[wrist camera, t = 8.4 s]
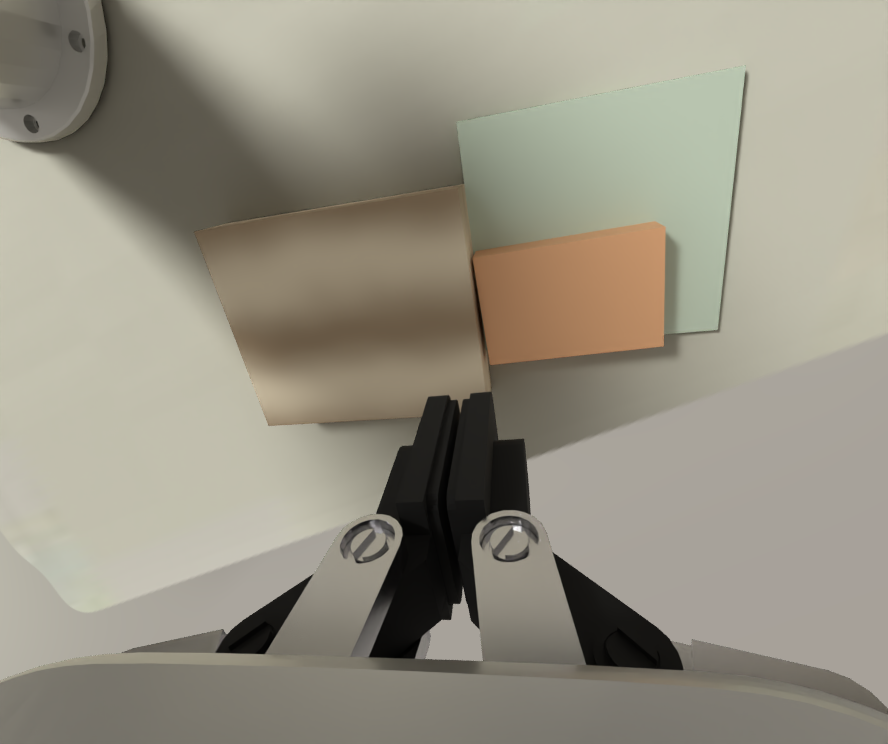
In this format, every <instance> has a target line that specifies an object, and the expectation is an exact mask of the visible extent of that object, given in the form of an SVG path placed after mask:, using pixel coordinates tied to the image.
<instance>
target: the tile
mask: <svg viewBox="0 0 888 744" xmlns="http://www.w3.org/2000/svg"><path fill="white" fill-rule="evenodd" d="M665 237H666V227H665V226H663V225H661V224H660V223H658V222H656V221H653V222H647V223H641V224H635V225H629V226H623V227H617V228H611V229H605V230H599V231H593V232H587V233H581V234H575V235H569V236H563V237H557V238H551V239H545V240H539V241H533V242H527V243H521V244H515V245H509V246H503V247H497V248H491V249H485V250H479V251H476V252H475V254H474V256H473V264H474V270H475V276H476V282H477V288H478V294H479V301H480V307H481V313H482V319H483V325H484V331H485V337H486V343H487V349H488V356H489V362H490V365H497V364H506V363H515V362H524V361H534V360H543V359H552V358H561V357H570V356H580V355H589V354H598V353H607V352H617V351H626V350H635V349H644V348H653V347H663V346H664V300H665Z"/></svg>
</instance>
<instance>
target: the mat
mask: <svg viewBox="0 0 888 744" xmlns="http://www.w3.org/2000/svg"><path fill="white" fill-rule="evenodd" d="M745 68H746V65H744V66H739V67H734V68H729V69H724V70H719V71H714V72H709V73H703V74H698V75H693V76H688V77H683V78H678V79H673V80H668V81H663V82H658V83H652V84H647V85H642V86H637V87H632V88H627V89H622V90H617V91H612V92H607V93H601V94H596V95H591V96H586V97H581V98H576V99H571V100H566V101H561V102H556V103H550V104H545V105H540V106H535V107H530V108H525V109H520V110H515V111H510V112H505V113H499V114H494V115H489V116H484V117H479V118H474V119H469V120H464V121H459V122H456V125H457V133H458V140H459V148H460V156H461V163H462V171H463V179H464V186H465V194H466V202H467V209H468V217H469V225H470V232H471V240H472V248H473V255H474V254H475V252H476V251H479V250H485V249H491V248H497V247H503V246H509V245H515V244H521V243H527V242H533V241H539V240H545V239H551V238H557V237H563V236H569V235H575V234H581V233H587V232H593V231H599V230H605V229H611V228H617V227H623V226H629V225H635V224H641V223H647V222H653V221H656V222H658V223H660V224H661V225H663V226H665V227H666V237H665V300H664V334H675V333H687V332H698V331H710V330H718V322H719V313H720V303H721V294H722V285H723V275H724V266H725V256H726V247H727V238H728V228H729V219H730V209H731V200H732V191H733V181H734V172H735V162H736V153H737V144H738V134H739V125H740V115H741V106H742V97H743V87H744V78H745ZM480 309H481V307H480ZM481 317H482V313H481ZM482 324H483V319H482ZM483 332H484V340H485V347H486V350H488V349H487V343H486V337H485V331H484V325H483Z"/></svg>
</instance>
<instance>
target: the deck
mask: <svg viewBox="0 0 888 744" xmlns="http://www.w3.org/2000/svg"><path fill="white" fill-rule="evenodd" d="M194 233H195V236H196V238H197V241H198V243H199V246H200V249H201V251H202V254H203V256H204V259H205V262H206V264H207V267H208V269H209V272H210V275H211V277H212V280H213V282H214V285H215V288H216V290H217V293H218V295H219V298H220V301H221V303H222V306H223V308H224V311H225V314H226V316H227V319H228V321H229V324H230V327H231V329H232V332H233V334H234V337H235V340H236V342H237V345H238V347H239V350H240V353H241V355H242V358H243V360H244V363H245V366H246V368H247V371H248V373H249V376H250V379H251V381H252V384H253V386H254V389H255V392H256V394H257V397H258V399H259V402H260V405H261V407H262V410H263V412H264V415H265V418H266V420H267V423H268V425H269V426H275V425H292V424H309V423H327V422H344V421H361V420H379V419H396V418H414V417H422V415H423V411H424V408H425V405H426V402H427V399H428V397H430V396H442V395H449V396H450V398H451V400H458V404H459V409H460V413H461V407H462V401H463V399H470V393H480V392H491V389H492V387H491V380H490V372H489V364H488V356H487V350H486V347H485V340H484V332H483V324H482V317H481V309H480V301H479V294H478V288H477V282H476V276H475V270H474V264H473V256H474V255H473V248H472V240H471V232H470V225H469V217H468V209H467V202H466V194H465V186H464V184H461V185H455V186H449V187H443V188H436V189H430V190H424V191H418V192H412V193H406V194H400V195H394V196H388V197H382V198H376V199H370V200H364V201H358V202H352V203H346V204H340V205H334V206H328V207H322V208H316V209H310V210H304V211H298V212H292V213H286V214H280V215H274V216H268V217H262V218H256V219H250V220H244V221H238V222H232V223H226V224H222V225H218V226H214V227H211V228H207V229H203V230H199V231H195V232H194Z"/></svg>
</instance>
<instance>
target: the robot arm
mask: <svg viewBox="0 0 888 744" xmlns="http://www.w3.org/2000/svg"><path fill="white" fill-rule="evenodd" d="M107 59H108V56H107V32H106V25H105V20H104V14H103V9H102V4H101V0H0V138H1V139H6V140H11V141H16V142H41V143H42V142H48V141H54V140H59V139H61V138H64V137H66V136H68V135H70V134H72V133H74V132H75V131H76V130H77V129H79V128H80V127H81V126H82V125H83V124H84V123H85V122H86V121H87V120H88V119H89V117H90V115H91V114H92V112H93V111H94V109H95V107H96V106H97V104H98V101H99V98H100V95H101V92H102V89H103V86H104V83H105V75H106V67H107ZM463 588H464V592H465V598H466V602H467V604H468V608H469V613H470V618H471V621H472V622H473V623H474V624H475V625H476V626H477V627H478V628H479V629H480V636H481V646H482V656H483V661H461V660H460V661H459V660H432V659H425V658H426V654H427V651H428V648H429V643H430V637H431V636H430V629H431V628H432V627H434V626H435V625H436V624H437V623H438V622H439V621H441V620H451V616H452V608H453V604H460V602H461V598H462V589H463ZM691 643H692V644H691V645H686V644H682V643H678V642H674V641H670V639H669V638H668V637H667V636H666V635H665V634H663V632H662V631H660V630H659V629H658V628H657V627H656V626H654V625H653V624H651V623H650V622H649V621H648V620H646V619H645V618H643V617H642V616H641V615H639V614H638V613H636V612H635V611H633V610H632V609H631V608H629V607H628V606H627V605H625V604H624V603H622V602H621V601H620V600H618V599H617V598H615V597H614V596H613V595H611V594H610V593H609V592H607V591H606V590H604V589H603V588H602V587H600V586H599V585H597V584H596V583H595V582H593V581H592V580H590V579H589V578H588V577H586V576H585V575H583V574H582V573H581V572H579V571H578V570H577V569H575V568H574V567H572V566H571V565H569V564H568V563H567V562H565V561H564V560H563V559H561V558H560V557H558V556H557V555H556V554H554V553H553V552H552V549H551V546H550V542H549V539H548V536H547V533H546V530H545V529H544V527H543V525H542V523H540V522H539V521H538V520H537V519H536V518H535V517H533V516H531V513H530V498H529V484H528V473H527V461H526V451H525V442H524V439H514V440H498V434H497V427H496V419H495V412H494V404H493V397H492V392H480V393H470V399H463V401H462V407H461V413H460V409H459V404H458V400H451V398H450V396H449V395H442V396H430V397H428V399H427V402H426V405H425V408H424V411H423V415H422V418H421V421H420V424H419V427H418V431H417V434H416V437H415V440H414V444H413V445H412V446H402V447H400V449H399V451H398V453H397V456H396V459H395V462H394V465H393V467H392V470H391V473H390V476H389V479H388V482H387V484H386V487H385V490H384V493H383V496H382V499H381V501H380V504H379V507H378V510H377V513H376V514H371V515H367V516H364V517H361V518H359V519H357V520H355V521H352V522H351V523H350V524H348V525H347V526H346V527H344V528H343V529H342V530H341V532H340V533H339V534H338V535H337V537H336V538H335V540H334V542H333V543H332V545H331V547H330V548H329V550H328V551H327V553H326V555H325V556H324V558H323V560H322V561H321V563H320V565H319V566H318V568H317V570H316V571H315V573H314V574H313V575H311V576H310V577H308V578H307V579H305V580H304V581H302V582H301V583H299V584H298V585H296V586H294V587H293V588H291V589H290V590H288V591H287V592H285V593H284V594H282V595H281V596H279V597H278V598H276V599H275V600H273V601H272V602H270V603H269V604H267V605H266V606H264V607H263V608H261V609H259V610H258V611H256V612H255V613H253V614H252V615H250V616H249V617H248V618H246V619H244V620H243V621H242V622H240V623H239V624H238V625H237V626H235V627H234V628H233V629H232V630H231V631H230V632H229V633H228V634H226V633H225V632H224V630H223V629H221V630H216V631H212V632H207V633H202V634H198V635H193V636H188V637H184V638H179V639H174V640H170V641H165V642H161V643H156V644H151V645H147V646H142V647H137V648H133V649H131V650H128V651H125V652H122V653H116V654H102V655H95V656H87V657H79V658H73V659H68V660H64V661H60V662H56V663H51V664H47V665H43V666H39V667H36V668H33V669H30V670H27V671H25V672H22V673H19V674H16V675H13V676H10V677H7V678H5V679H3V680H1V681H0V744H888V708H887V707H886V706H885V705H884V704H883V703H882V702H881V701H879V699H878V698H877V697H875V696H874V695H873V694H872V693H871V692H870V691H869V690H867V689H866V688H864V687H862V686H861V685H859V684H858V683H856V682H854V681H853V680H851V679H850V678H847V677H845V676H842V675H839V674H837V673H834V672H831V671H829V670H825V669H820V668H816V667H811V666H807V665H803V664H798V663H794V662H789V661H785V660H781V659H776V658H772V657H768V656H763V655H759V654H755V653H750V652H746V651H741V650H737V649H733V648H728V647H724V646H720V645H715V644H711V643H707V642H702V641H697V640H693V639H692V642H691Z"/></svg>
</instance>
